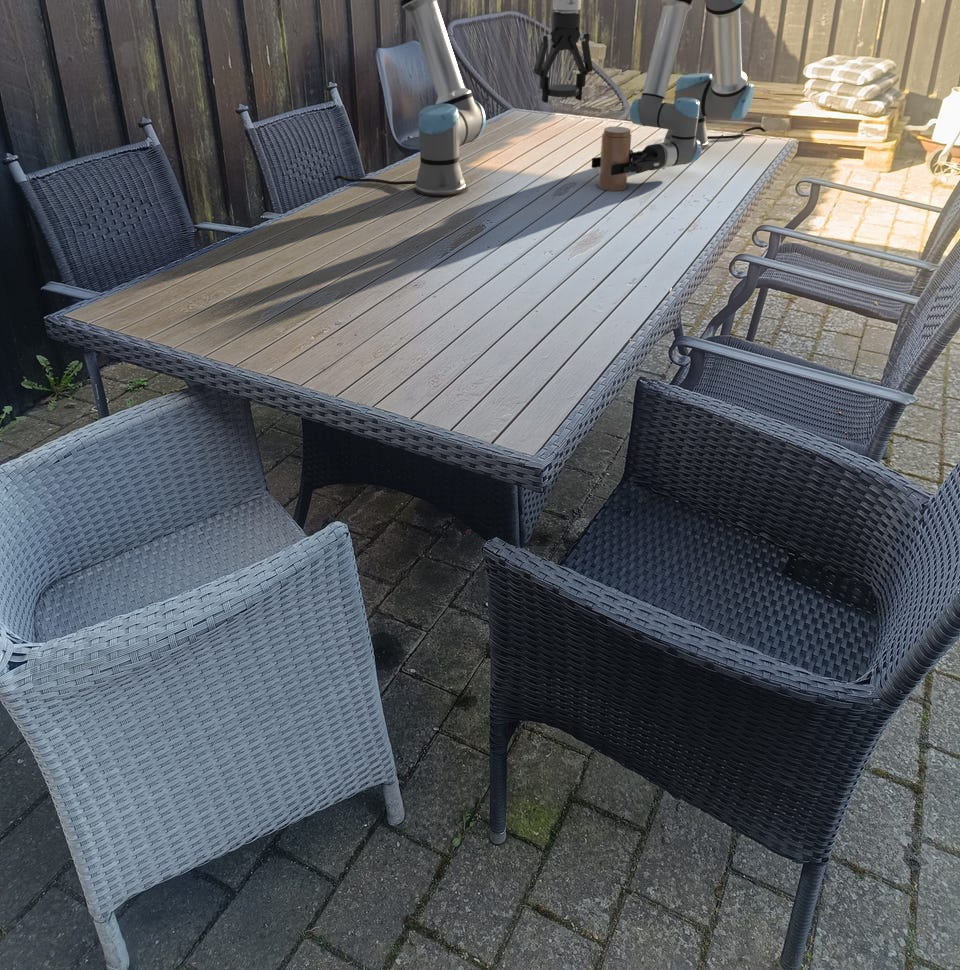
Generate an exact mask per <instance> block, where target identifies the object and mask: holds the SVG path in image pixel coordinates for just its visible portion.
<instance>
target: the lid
mask: <svg viewBox="0 0 960 970" xmlns="http://www.w3.org/2000/svg"><path fill="white" fill-rule="evenodd" d="M579 92H580V89H579V87H578V86H576V84H571V83H570V84H569V83H554V84H549V90H548V97H554V98H572V97H575V96H577V95H579Z"/></svg>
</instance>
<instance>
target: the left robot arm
mask: <svg viewBox="0 0 960 970" xmlns="http://www.w3.org/2000/svg"><path fill="white" fill-rule="evenodd" d="M399 3H400V6H401V8H402V10H404V11H406V12H408V14H409V16H410V19H411V22H412V24H413V28H414V30H415V33H416V36H417V39H418V43H419V45H420V48H421V51H422V54H423V57H424V60H425V63H426V66H427V69H428V72H429V75H430V78H431V81H432V83H433V86H434V90H435V92H436V95H437V99H436V102H435V104H429V105H428V106H425V107H424V108H422V109H421V110H420V112H419V113H418V122H417V123H418V126H417V127H418V136H419V138H418V139H419V157H420V158H419V159H420V161H419V162H420V164H419V168H418V172H417V176H416V180H399V181H392V180H386V179H379V178H349V177H346V176H344V175H341V174H337V175H335V176H334V177H333V178H332V181H337V180H339V179H341V180H343V181H346V182H350V183H351V182H352V183H363V182H364V183H367V182H369V183H380V184H386V185H393V186H395V185H396V186H399V185H401V186H402V185H414V186H415V192H417V193H418V194H420V195H424V196H430V197H450V196H455V195H459V194H461V193H463V192H464V191H466V181H465V178H464V176H463V172H462V169H461V165H460V147H462V146H464V145H466V144H469V143H472V142H474V141H475V140H476V139H478V138H479V137H480V136H481V135H482V134H483V133H484V130H485V128H486V123H487V116H486V112H485V109H484V107H483V106H482V104H481V103H480V102H478V101H477V100H476V99H474V96H473V92H472V91H471V90H470V89H468V88H467V87H466V86H465V84H464V81H463V78H462V75H461V73H460V69H459V66H458V62H457V60H456V56H455V53H454V51H453V48H452V44H451V42H450V39H449V36H448V31H447V29H446V26H445V23H444V20H443V16H442V14H441V11H440V8H439V4H438V0H399ZM581 4H582V0H552V10H553V12H552V14H551V15H552V17H551V32H550V33H549V34H541V35H540V37H539V38H540V40H539V41H540V43H539V48H538V52H537V56H536V60H535V63H534V68H533V74H535V75H537V76H538V77H539V89H540V90H542V93H541V101H542V102H543V103H545V104H547V103H549V96H548V90H549V85H550V77H549V76H548V73H549V72H550V70H551V68H552V66H553V63H554V61H555V59H556V57H557V55H558V54H559V53H560V52H561V51H565V50H566V51H570V53H571V55H572V57H573V60H574V62H575V65H576V67H577V69H578V72H579V73H576V77H575V78H576V81H575V85H576V86H578V87H579V89H580V92H579V95H577V96H574V98H575V100H577V101H582V97H583V96H582V95H583V88H585V86H586V78H587V75H588V74H589V73H592V72H593V70H594V68H593V63H592V62H593V61H592V55H591V50H590V44H589V43H590V33H588V32H580V25H581V23H580V22H581V13H580V12H579V11H580V10H581V6H582V5H581ZM578 41H580V43H581V50H582V56H581V54H580V52H579V48H578V44H577V42H578ZM550 42H552V44H551V47H550V49H549V50H550V51H549V52H548V54H547V50H548V46H549V44H550ZM546 55H547V56H546ZM582 57H583V59H582ZM545 58H546V59H545Z"/></svg>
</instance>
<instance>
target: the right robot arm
mask: <svg viewBox="0 0 960 970" xmlns="http://www.w3.org/2000/svg"><path fill="white" fill-rule="evenodd" d="M694 1H695V0H660V4H661V6H662V9H661V14H660V17H659V22H658V26H657V30H656V34H655V38H654V43H653V47H652V51H651V54H650V59H649V63H648V67H647V72H646V76H645V81H644V84H643V89H642V93H641V96H640V98H636V99H634V100H633V101H632V103H631V105H630V108H629V121H630V122H631V123H632V124H634V125H639V126H642V127H650V128H658V129H663V130H666V134H665V136H664V140H663V142H659V143H654V144H653V143H652V144H648V145H646V146H645V147H644V148H643V150H639V151H634V150H632V149H630V155H629V162H628V163H623V164H617V165H612V168H611V175H617V174H622V173H628V174H629V173H635V174H637V175H639V174H641V173H645V172H647V171H648V172H649V171H655V170H660V169H662V170H666V168H670V167H676V166H681V165H682V166H683V165H688V164H692V163H694V162H696V161H698V159H700V158H701V157H700V156H701V155H702V150H703V149H704V150H705V149H706V148H707V147H708V143H709V142H708V141H709V140H723V139H724V140H726V139H727V140H728V139H736V138H741V137H743V136H744V134H745V133H747V132H752V131H754V130H760V131H761V132H763V133H766V129H765V128H764V127H762V126H752V127H748V128H746V129H742V130H741V132H740V133H739V134H732V135H708V133H707V127H706V126H707V125H706V120H707V118H713V119H721V120H727V121H730V122H731V121H738V122H739V121H742V120H743V119H745V117H746V116H747V114H748V112H749V111H750V108H751V106H752V104H753V103H752V102H753V99H754V95H755V85H754V84H753V83H748V76H747V74H746V72H745V71H744V70H743V63H742V62H743V61H742V59H743V58H742V30H741V29H742V28H741V8H742V7H743V6H744V4H745V3H746V2H745V1H747V0H704V5H705V11H706V12H707V13H708V14H710V17H711V31H712V32H711V35H712V51H713V52H712V53H713V66H714V77H713V74H712V73H710V72H709V73H708V72H703V73H701V72H699V73H690V74H684V75H682V76H680V77H678V79H677V81H676V85H675V89H674V99H673V103H671V102H665V100H666V96H667V92H668V87H669V84H670V80H671V76H672V72H673V68H674V65H675V60H676V57H677V52H678V49H679V45H680V41H681V37H682V34H683V30H684V25H685V22H686V17H687V14H688V12H689V11H690V10H692V8H693V3H694ZM591 168H592V169H595V168H600V156H597V157H592V158H591Z"/></svg>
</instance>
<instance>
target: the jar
mask: <svg viewBox="0 0 960 970" xmlns="http://www.w3.org/2000/svg"><path fill="white" fill-rule="evenodd" d="M631 131H632V130H631V129H630V128H629V127H625V126H608V127H605V128H604V129H603V133H601V145H600V156H599V157H600V167H598V168H599V169H598V182H597V187H598V188H599V189H601V190H604V191H611V192H613V191H614V192H615V191H618V192H619V191H623V190H625V189H627V183H628V174H629V172H628V173H622V174H617V175H611V168H612V165H617V164H623V163H628V162H629V155H630V150H631V144H632V143H631V142H632V134H631Z"/></svg>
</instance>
